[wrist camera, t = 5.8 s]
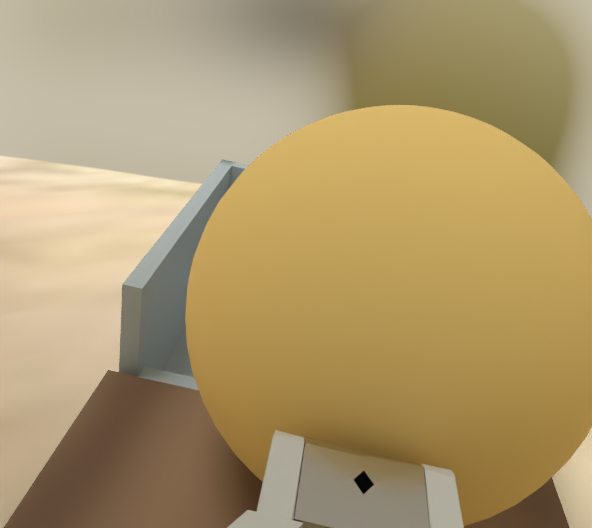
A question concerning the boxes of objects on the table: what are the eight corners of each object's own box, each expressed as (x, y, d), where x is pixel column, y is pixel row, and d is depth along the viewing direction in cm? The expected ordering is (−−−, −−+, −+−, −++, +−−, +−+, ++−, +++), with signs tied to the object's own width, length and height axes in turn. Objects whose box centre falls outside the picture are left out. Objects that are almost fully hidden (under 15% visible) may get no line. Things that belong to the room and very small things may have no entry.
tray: (116, 431, 20) (122, 284, 17) (209, 265, 31) (222, 159, 28) (505, 519, 19) (577, 384, 16) (456, 318, 30) (495, 217, 28)
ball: (50, 391, 8) (287, -58, 12) (139, 463, 17) (255, 192, 21) (764, 651, 7) (742, 99, 12) (462, 581, 16) (513, 283, 21)
